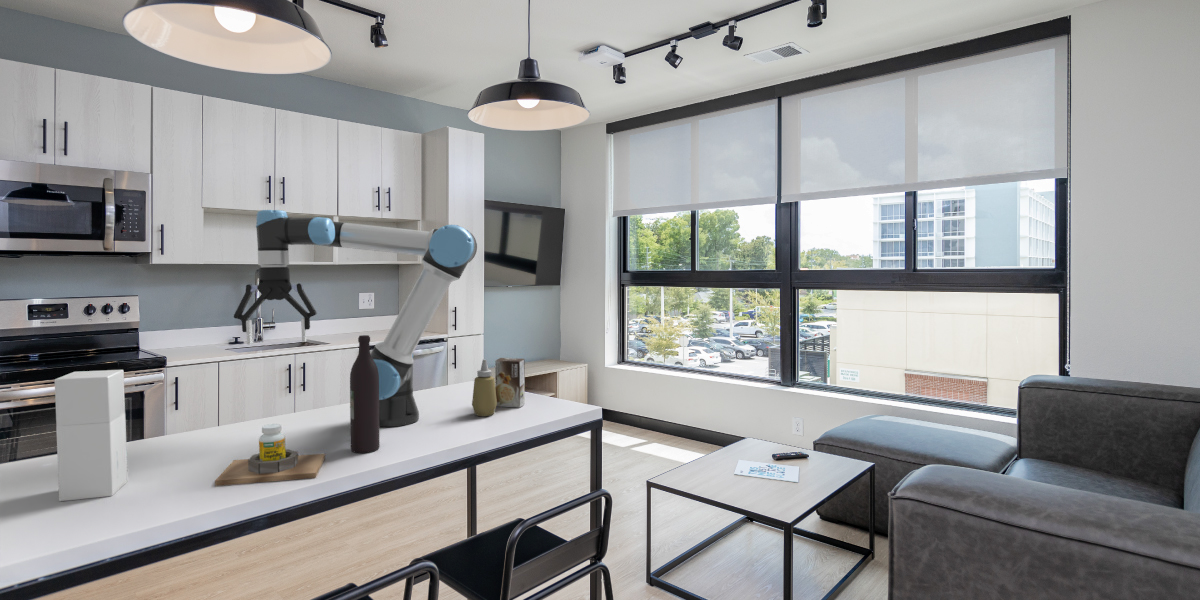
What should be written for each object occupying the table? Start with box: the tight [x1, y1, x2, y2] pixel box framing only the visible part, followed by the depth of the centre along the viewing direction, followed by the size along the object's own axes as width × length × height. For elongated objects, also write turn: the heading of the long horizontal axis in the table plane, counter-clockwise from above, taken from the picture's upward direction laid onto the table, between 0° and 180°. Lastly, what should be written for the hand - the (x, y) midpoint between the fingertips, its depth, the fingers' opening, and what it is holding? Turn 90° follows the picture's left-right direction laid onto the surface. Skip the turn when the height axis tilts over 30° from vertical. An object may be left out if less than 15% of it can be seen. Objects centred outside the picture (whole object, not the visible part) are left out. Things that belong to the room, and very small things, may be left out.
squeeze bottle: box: [471, 358, 497, 417], centre depth 193 cm, size 8×8×18 cm
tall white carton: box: [54, 369, 128, 502], centre depth 125 cm, size 9×9×25 cm
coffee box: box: [494, 357, 526, 408], centre depth 207 cm, size 9×6×16 cm
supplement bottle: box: [258, 423, 287, 462], centre depth 139 cm, size 5×5×10 cm
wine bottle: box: [349, 334, 380, 454], centre depth 155 cm, size 7×7×30 cm
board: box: [214, 448, 326, 487], centre depth 139 cm, size 20×14×4 cm
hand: (277, 342), depth 166 cm, fingers open, 13 cm apart
